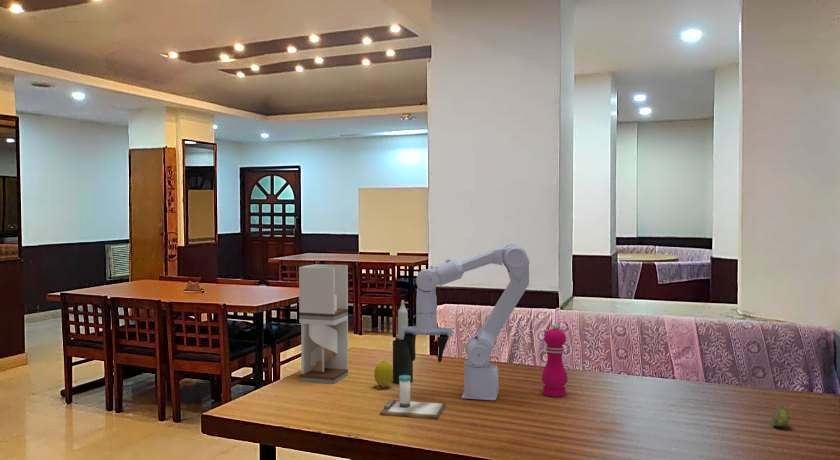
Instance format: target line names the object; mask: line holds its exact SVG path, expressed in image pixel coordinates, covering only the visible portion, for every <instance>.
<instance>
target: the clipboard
mask: <svg viewBox="0 0 840 460" xmlns="http://www.w3.org/2000/svg"><path fill="white" fill-rule="evenodd" d="M446 407H447V403H441V402H427V401H425V402H424V401H413V400H410V407H407V408H402V407H400V399H399V400H398V399H397V400H396V399H391V400H390V399H389V400H388V401H387V402H386V403H385V404H384V406H383V409H381V410H380V412H379V415H380V416H388V417H400V418H401V417H402V418H403V417H404V418H416V419H429V420H438V419H439V418H440V416H441V415H442V413H443V411H444V410H445V408H446Z"/></svg>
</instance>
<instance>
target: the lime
mask: <svg viewBox="0 0 840 460" xmlns="http://www.w3.org/2000/svg"><path fill="white" fill-rule="evenodd" d="M770 418H771V420H770V425H771V426H772V427H774V426H775V427H774V428H784V427H787V426H788V424H789V422H790V415H789V412H788V410H787V408H785V407H784V406H781V405H778V406H776V408H775V409H774V410H773V412H772V415H771V417H770Z"/></svg>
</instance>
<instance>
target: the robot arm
mask: <svg viewBox="0 0 840 460" xmlns="http://www.w3.org/2000/svg"><path fill="white" fill-rule="evenodd" d="M490 264H493V265H498V266H504V267H505V268H506V270H507V273H508V277H509V280H510V281H509V283H508V285H507V286H506V287H505V289H504V290H503V292H502V293H501V296H500V297H499V299H498V300H497V302H496V304H495V305H494V307H493V309H492V310H491V312H490V314H489V315H488V317H487V318H486V320H485V322H484V323H483V325H482V327H481V328H480V329H479V330H477V332H476V333H475V335H474V336H473V337H472V338H469V340H468V341H467V342H466V344H465V348H464V349H465V353H466V354H467V355H466V356H467V359H466V360H465V361H464V390H463V393H462V395H461V399H468V400H482V401H483V400H484V401H497V397H498V395H499V391H500V389H499V388H500V387H499V366H498V365H497V364H496V365H495V364H491V361H490V358H491V351H492V349H493V347H494V345H495V343H496V340H497V337H498V336H499V334H500V332H501V331H502V329H503V328H504V326H505V324H506V322H507V321H508V319H509V318H510V317H511V314H512V313H513V311H514V310H515V308H516V306H517V304H518V303H519V302H520V301H521V300H520V299H521V298H522V296H523V295H524V294H525V292H526V290H527V288H528V287H529V285H530V259H529V256H528V254H527V252H526V250H525V249H524V248H522V247H521V246H518V245H516V244H507V245H505V246H499V247H495V248H492V249H488V250H486V251H484V252H481V253H478V254H476V255H473V256H472V257H469V258H466V259H465V260H464V259H463V260H461V261H459V260H457V259H450V258H447V259H445V262H442V263H440V264H438V265H435V266H434V265H433V264H432V265H429V269H428V268H427V269H425V268H424V269H422V270H420V271H419V272H418V273H417V276H416V279H415V283H416V286H417V289H416V294H417V295H416V299H415V300H416V301H415V303H416V306H415V307H416V308H415V309H416V310H415V311H416V316H415V317H416V321H415V323H416V325H415V326H414V325H413V326H412V325H411V326H408V327H404V326H403V327H401V334H405V335H404V340H405V342H406V344H407V346H408V349H409V352H410V356H411V361H413V362H414V361H415V360H416V340H417V339H416V337H417V336H418V335H420V336H438V337H437V350H438V352H437V362H438V363H441V362H443V355H444V351H445V348H446V345H447V343H448V340H449V338H450V337H452V336H453V334H454V332H453V328H451V327H450V328H449V327H439V326H438V325H437V323H438V322H437V321H438V318H437V317H438V316H437V315H438V313H437V311H438V310H437V308H438V307H437V304H438V303H437V302H438V301H437V298H438V297H437V293H436V291H437V286H440V287H441V286H444V285H446V284H449V283H453V282H455V281H457V280H461V279H462V278H463V275H464V273H467V272H469V271H472V270H475V269H478V268H481V267H484V266H487V265H490Z"/></svg>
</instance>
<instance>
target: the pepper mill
mask: <svg viewBox="0 0 840 460" xmlns="http://www.w3.org/2000/svg"><path fill="white" fill-rule="evenodd" d="M551 328H552V329H548V330H546V332H545V334H544V338H543V339H544V342H545V344H546V346H545V348H546V349H545V352H547V359H546V360H547V361H546V363H545V366H544V368H543V370H542V373H541V381H542V383H543V387H542V393H543V394H544V395H545V396H548V397H555V398H558V397H564V396H566V393H567V392H566V390H567V389H566V387H565V385H566V384H567V383H568V374H567V371H566V368H565V366H564V364H563V353H564V352H565V350H564V349H565V347H564V345H565V343H566V340H567V337H566V334H565V332H564V331H562V330H561V329H559V325H558V323H554V324H552V326H551Z"/></svg>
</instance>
